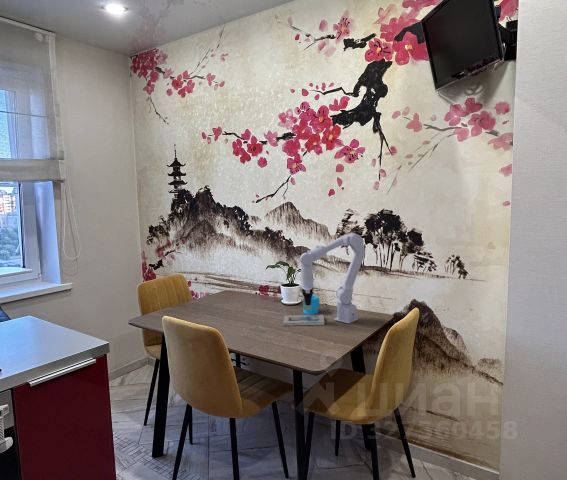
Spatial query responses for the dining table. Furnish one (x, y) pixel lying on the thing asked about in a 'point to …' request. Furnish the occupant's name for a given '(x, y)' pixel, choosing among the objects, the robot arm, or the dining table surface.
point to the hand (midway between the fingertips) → (308, 303)
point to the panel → (304, 320)
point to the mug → (313, 306)
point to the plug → (305, 307)
